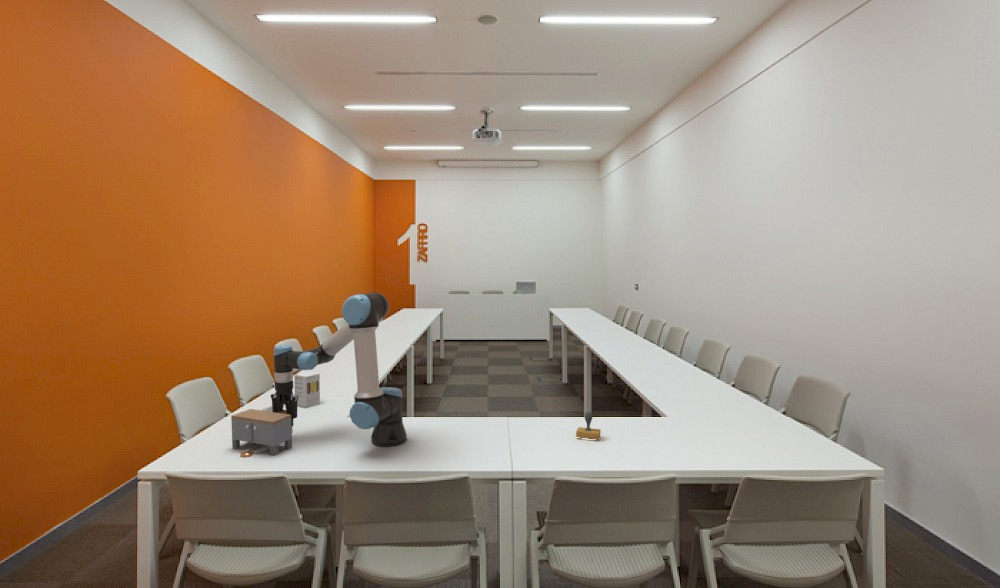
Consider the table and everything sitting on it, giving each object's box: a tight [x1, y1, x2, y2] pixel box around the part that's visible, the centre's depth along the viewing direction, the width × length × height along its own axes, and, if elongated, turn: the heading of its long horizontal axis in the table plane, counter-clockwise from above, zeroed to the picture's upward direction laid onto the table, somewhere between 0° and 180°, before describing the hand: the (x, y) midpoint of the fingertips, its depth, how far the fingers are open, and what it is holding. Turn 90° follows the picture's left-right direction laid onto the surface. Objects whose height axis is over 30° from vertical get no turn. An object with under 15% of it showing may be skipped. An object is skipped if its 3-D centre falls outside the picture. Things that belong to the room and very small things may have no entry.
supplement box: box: [293, 371, 321, 409], centre depth 281 cm, size 10×9×17 cm
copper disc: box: [240, 451, 254, 458], centre depth 211 cm, size 4×4×1 cm
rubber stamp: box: [575, 411, 601, 441], centre depth 232 cm, size 10×6×12 cm, turn 72°
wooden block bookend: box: [245, 409, 287, 455], centre depth 223 cm, size 6×20×12 cm, turn 159°
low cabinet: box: [230, 408, 293, 457], centre depth 218 cm, size 22×11×14 cm, turn 69°
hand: (285, 433), depth 231 cm, fingers closed on wooden block bookend, 4 cm apart
